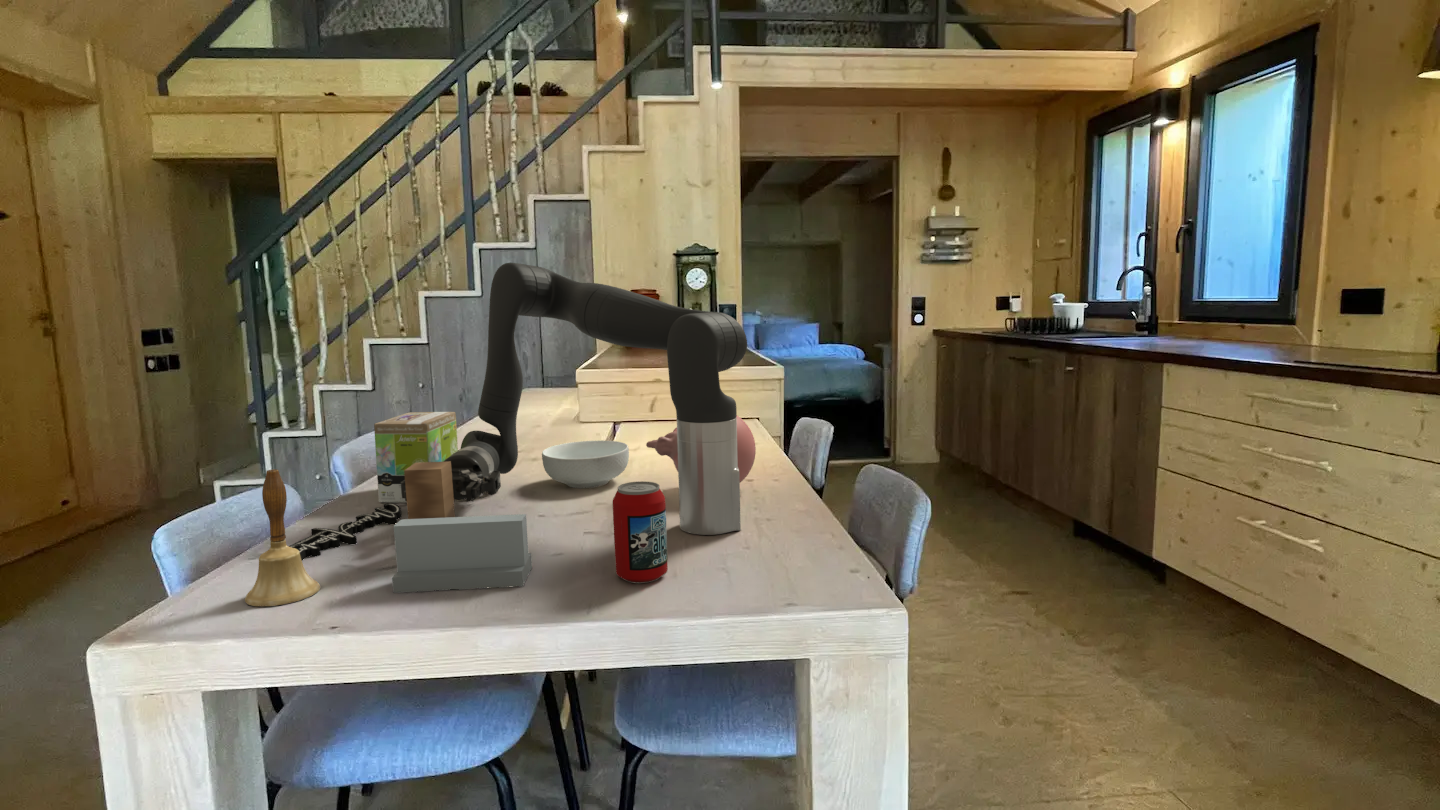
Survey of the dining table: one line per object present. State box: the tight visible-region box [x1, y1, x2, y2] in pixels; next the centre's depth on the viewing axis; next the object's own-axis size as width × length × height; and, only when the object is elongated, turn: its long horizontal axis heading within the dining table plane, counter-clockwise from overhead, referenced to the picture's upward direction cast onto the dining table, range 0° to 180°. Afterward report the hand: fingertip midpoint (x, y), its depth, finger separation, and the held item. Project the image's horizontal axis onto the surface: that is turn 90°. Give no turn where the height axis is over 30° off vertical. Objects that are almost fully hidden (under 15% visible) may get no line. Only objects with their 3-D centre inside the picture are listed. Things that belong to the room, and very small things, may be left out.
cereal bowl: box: [541, 439, 630, 489], centre depth 150 cm, size 17×17×7 cm
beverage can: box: [612, 480, 668, 584], centre depth 100 cm, size 7×7×12 cm
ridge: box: [391, 513, 533, 594], centre depth 100 cm, size 16×7×8 cm, turn 94°
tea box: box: [373, 411, 459, 504], centre depth 146 cm, size 15×10×15 cm
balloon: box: [645, 415, 757, 483], centre depth 141 cm, size 15×20×15 cm
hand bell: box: [244, 468, 321, 607], centre depth 96 cm, size 8×8×16 cm
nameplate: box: [288, 502, 402, 561], centre depth 122 cm, size 27×2×10 cm
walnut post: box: [404, 461, 456, 519], centre depth 110 cm, size 5×5×13 cm
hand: (439, 496), depth 114 cm, fingers open, 8 cm apart
